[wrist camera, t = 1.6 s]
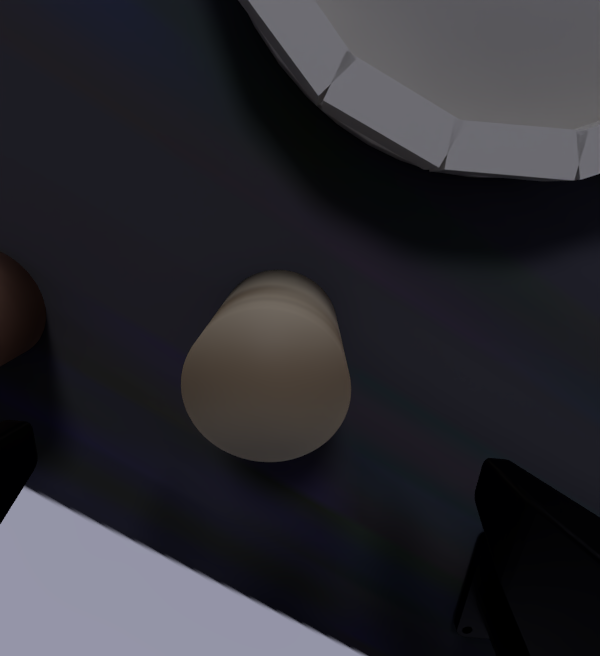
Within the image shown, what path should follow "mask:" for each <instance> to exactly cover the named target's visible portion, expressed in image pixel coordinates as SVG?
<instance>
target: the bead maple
mask: <svg viewBox="0 0 600 656" xmlns="http://www.w3.org/2000/svg"><path fill="white" fill-rule="evenodd" d="M181 390H182V397H183V401H184V405H185V408H186V410H187V413H188V415H189V417H190V418H191V420H192V422H193V423H194V425H195V426H196V427H197V429H198V430H199V431H200V432H201V433H202V434H203V435H204V436H205V438H207V439H208V440H209V441H210V442H211V443H213V444H214V445H215V446H217V447H219V448H220V449H222V450H223V451H226V452H228V453H230V454H232V455H234V456H237V457H240V458H243V459H247V460H251V461H259V462H280V461H286V460H291V459H295V458H298V457H301V456H304V455H306V454H308V453H310V452H312V451H314V450H316V449H317V448H319V447H320V446H322V445H323V444H324V443H325V442H327V441H328V440H329V439H330V438H331V437H332V436H333V435H334V434H335V432H336V431H337V430H338V428H339V427H340V426H341V424H342V422H343V420H344V418H345V416H346V413H347V411H348V408H349V403H350V398H351V382H350V375H349V371H348V367H347V362H346V358H345V353H344V349H343V345H342V340H341V336H340V331H339V327H338V322H337V318H336V314H335V310H334V307H333V305H332V303H331V301H330V299H329V297H328V296H327V294H326V293H325V292H324V291H323V290H322V288H321V287H320V286H319V285H317V284H316V283H315V282H314V281H312V280H311V279H309V278H307V277H305V276H303V275H301V274H298V273H295V272H291V271H285V270H270V271H264V272H260V273H257V274H255V275H252V276H250V277H248V278H247V279H245V280H244V281H242V282H241V283H240V284H239V285H238V286H237V287H236V288H235V289H234V290H233V291H232V292H231V294H230V295H229V296H228V298H227V299H226V300H225V302H224V303H223V305H222V306H221V307H220V309H219V310H218V311H217V313H216V314H215V316H214V317H213V318H212V320H211V321H210V323H209V324H208V325H207V327H206V328H205V329H204V331H203V332H202V334H201V335H200V336H199V338H198V339H197V340H196V342H195V343H194V345H193V346H192V348H191V349H190V351H189V353H188V355H187V357H186V360H185V363H184V365H183V370H182V375H181Z"/></svg>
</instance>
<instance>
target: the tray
mask: <svg viewBox="0 0 600 656" xmlns="http://www.w3.org/2000/svg"><path fill="white" fill-rule="evenodd" d="M238 1H239V2H240V4H241V5H242V6H243V8H244V9H245V10H246V12H247V13H248V15H249V17H250V19H251V21H252V23H253V25H254V27H255V28H256V30H257V31H258V33H259V34H260V36H261V38H262V39H263V41H264V42H265V44H266V45H267V47H268V48H269V50H270V51H271V53H272V54H273V56H274V57H275V59H276V60H277V62H278V64H279V65H280V66H281V67H282V69H283V70H284V71H285V72H286V73H287V74H288V76H289V77H290V78H291V79H292V80H293V81H294V83H295V84H296V85H297V86H298V87H299V89H300V90H301V91H302V92H303V93H304V94H305V96H306V97H307V98H308V99H309V100H311V101H312V102H313V103H314V104H315V105H316V106H317V107H318V108H319V109H321V111H323V112H324V113H325V114H326V115H327V116H328V117H329V118H331V119H332V120H333V121H334V122H335V123H336V124H337V125H339V126H340V127H342V128H343V129H345V130H346V131H348V132H349V133H351V134H352V135H354V136H355V137H357V138H358V139H360V140H361V141H363V142H364V143H366V144H367V145H369V146H371V147H373V148H375V149H377V150H379V151H381V152H383V153H385V154H388V155H390V156H392V157H394V158H396V159H398V160H400V161H403V162H406V163H409V164H412V165H415V166H418V167H420V168H422V169H423V170H427V169H428V170H429V172H440V173H446V174H453V175H459V176H465V177H475V178H511V179H522V180H534V181H574V180H581V179H584V178H588V177H591V176H594V175H597V174H600V0H238Z"/></svg>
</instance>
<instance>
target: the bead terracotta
mask: <svg viewBox="0 0 600 656" xmlns="http://www.w3.org/2000/svg"><path fill="white" fill-rule="evenodd" d="M45 323H46V309H45V304H44V300H43V297H42V294H41V292H40V290H39V288H38V286H37V284H36V283H35V281H34V280H33V278H32V277H31V276H30V275H29V273H28V272H27V271H26V270H25V269H24V268H23V267H22V266H21V265H20V264H18V263H17V262H16V261H15V260H13V259H12V258H10V257H9V256H7V255H5V254H4V253H2V252H0V366H2V365H4V364H6V363H7V362H9V361H11V360H12V359H14V358H16V357H18V356H19V355H21V354H23V353H24V352H26V351H28V350H30V349H31V348H32V347H33V346H34V345H35V344H36V343H37V342H38V341H39V339H40V337H41V336H42V333H43V331H44V327H45Z"/></svg>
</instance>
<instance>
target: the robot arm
mask: <svg viewBox="0 0 600 656" xmlns="http://www.w3.org/2000/svg"><path fill="white" fill-rule="evenodd" d="M36 463H37V451H36V445H35V439H34V433H33V428H32V426H31V424H30V423H28V422H25V421H13V420H6V421H2V422H0V524H1V522H2V521H3V519H4V517H5V516H6V514H7V513H8V511H9V509H10V508H11V506H12V504H13V503H14V501H15V500H16V498H17V496H18V495H19V493H20V492H21V490H22V488H23V487H24V485H25V484H26V482H27V480H28V479H29V477H30V476H31V474H32V472H33V471H34V469H35V466H36ZM475 503H476V506H477V510H478V513H479V516H480V519H481V523H482V526H483V529H484V533H483V534H482V535H481V537H480V539H479V542H478V545H477V549H476V552H475V555H474V558H473V562H472V565H471V568H470V572H469V575H468V578H467V581H466V585H465V588H464V591H463V594H462V598H461V601H460V604H459V607H458V611H457V614H456V617H455V620H454V624H455V627H456V630H457V633H458V634H459V635H460V636H463V637H472V638H486V639H490V641H491V643H492V646H493V648H494V650H495V653H496V655H497V656H600V517H598V516H597V515H595V514H593V513H592V512H590V511H589V510H587V509H586V508H584V507H582V506H581V505H579V504H578V503H576V502H574V501H573V500H571V499H570V498H568V497H567V496H565V495H563V494H562V493H560V492H559V491H557V490H555V489H554V488H552V487H551V486H549V485H548V484H546V483H544V482H543V481H541V480H540V479H538V478H536V477H535V476H533V475H532V474H530V473H528V472H527V471H525V470H524V469H522V468H521V467H519V466H517V465H516V464H514V463H513V462H511V461H509V460H506V459H495V458H488V459H486V460H485V461H484V463H483V465H482V468H481V472H480V476H479V479H478V483H477V486H476V490H475Z"/></svg>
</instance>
